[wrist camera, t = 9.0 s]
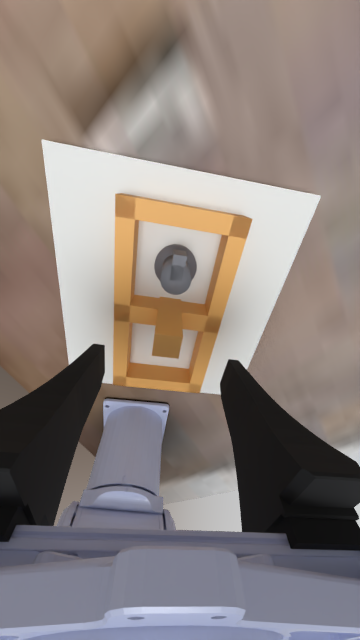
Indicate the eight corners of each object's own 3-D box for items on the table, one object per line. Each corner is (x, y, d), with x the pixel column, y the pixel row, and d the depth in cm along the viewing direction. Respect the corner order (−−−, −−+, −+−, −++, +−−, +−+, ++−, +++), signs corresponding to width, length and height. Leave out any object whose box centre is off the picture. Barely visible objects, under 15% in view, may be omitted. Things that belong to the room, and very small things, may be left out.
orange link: (197, 378, 23) (203, 426, 19) (117, 369, 23) (102, 417, 18) (243, 215, 15) (274, 227, 11) (122, 193, 15) (97, 195, 10)
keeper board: (232, 385, 26) (245, 427, 22) (76, 369, 24) (53, 412, 20) (309, 195, 16) (363, 198, 12) (53, 143, 14) (-5, 122, 10)
